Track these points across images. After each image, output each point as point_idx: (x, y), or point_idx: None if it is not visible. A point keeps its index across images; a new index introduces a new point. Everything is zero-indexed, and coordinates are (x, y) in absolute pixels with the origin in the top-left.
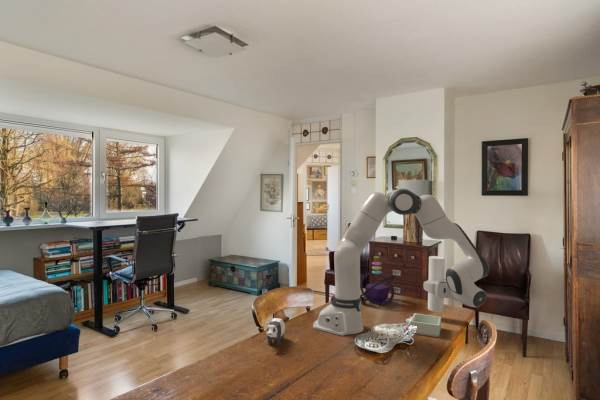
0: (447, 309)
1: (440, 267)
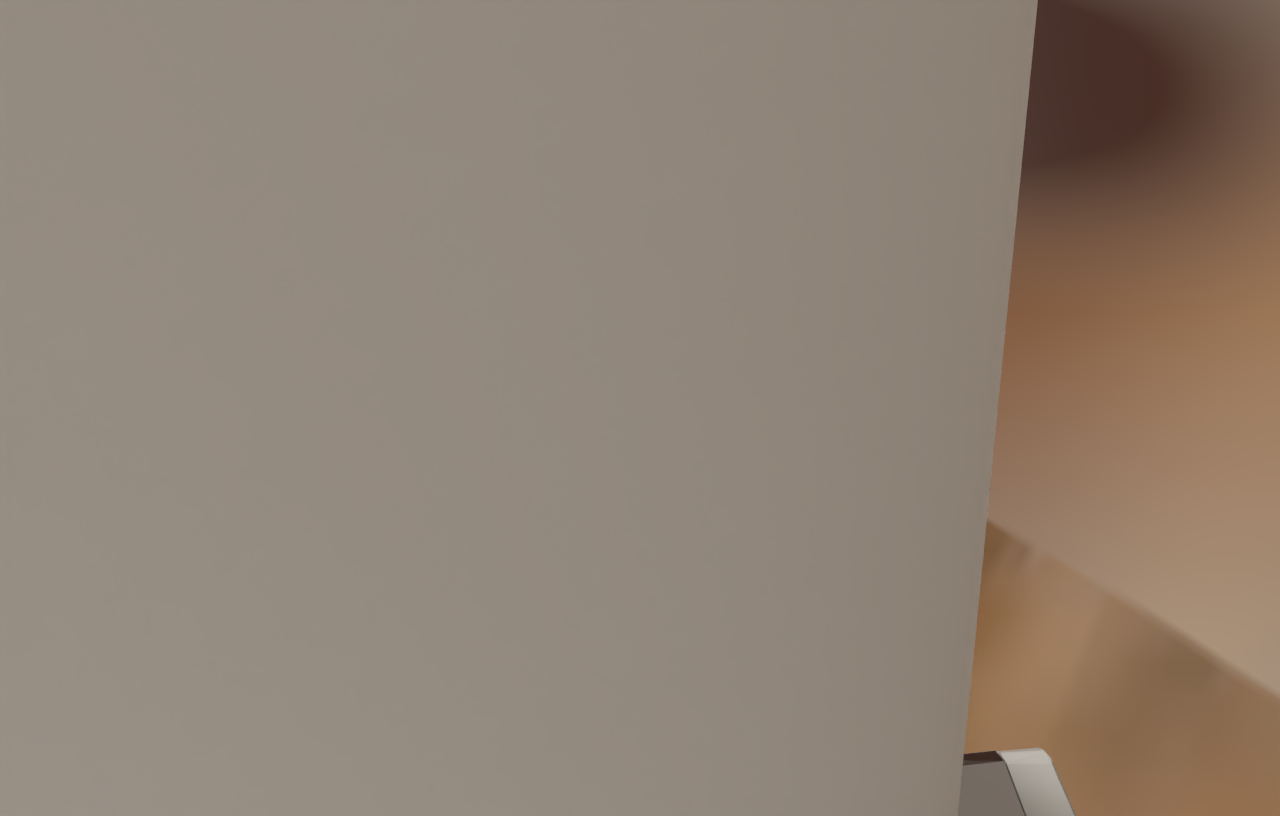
0: (1174, 802)
1: (22, 797)
